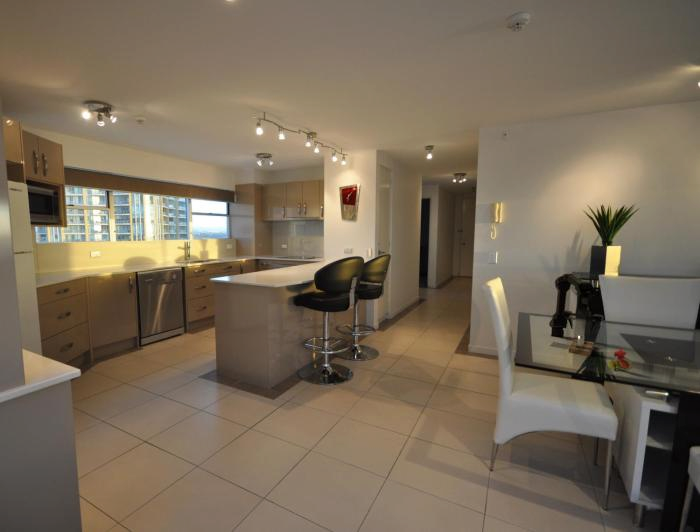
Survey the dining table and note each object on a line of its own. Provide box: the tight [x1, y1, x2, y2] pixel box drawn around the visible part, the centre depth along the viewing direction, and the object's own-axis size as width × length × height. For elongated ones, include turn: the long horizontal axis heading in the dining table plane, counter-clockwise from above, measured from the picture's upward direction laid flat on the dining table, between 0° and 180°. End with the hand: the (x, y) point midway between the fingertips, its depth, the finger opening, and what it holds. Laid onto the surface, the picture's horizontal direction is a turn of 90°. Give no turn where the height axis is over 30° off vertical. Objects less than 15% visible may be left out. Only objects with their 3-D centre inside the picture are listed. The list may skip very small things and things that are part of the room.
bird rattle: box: [608, 348, 634, 372], centre depth 168 cm, size 6×11×9 cm
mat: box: [549, 341, 571, 350], centre depth 205 cm, size 9×10×1 cm
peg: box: [577, 334, 585, 349], centre depth 194 cm, size 3×3×10 cm
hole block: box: [568, 338, 595, 357], centre depth 198 cm, size 10×20×3 cm, turn 138°
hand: (581, 330), depth 193 cm, fingers open, 9 cm apart
